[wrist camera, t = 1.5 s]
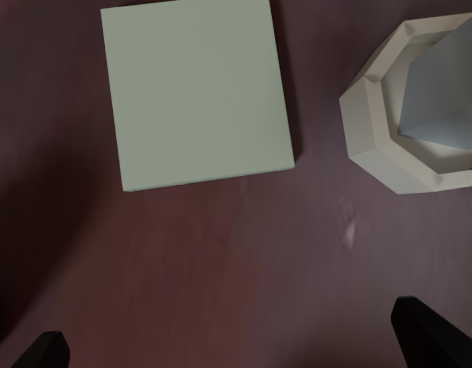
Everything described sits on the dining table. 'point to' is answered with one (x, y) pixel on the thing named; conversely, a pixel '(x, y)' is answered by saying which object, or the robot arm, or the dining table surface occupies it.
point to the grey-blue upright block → (441, 92)
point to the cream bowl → (388, 115)
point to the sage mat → (195, 91)
